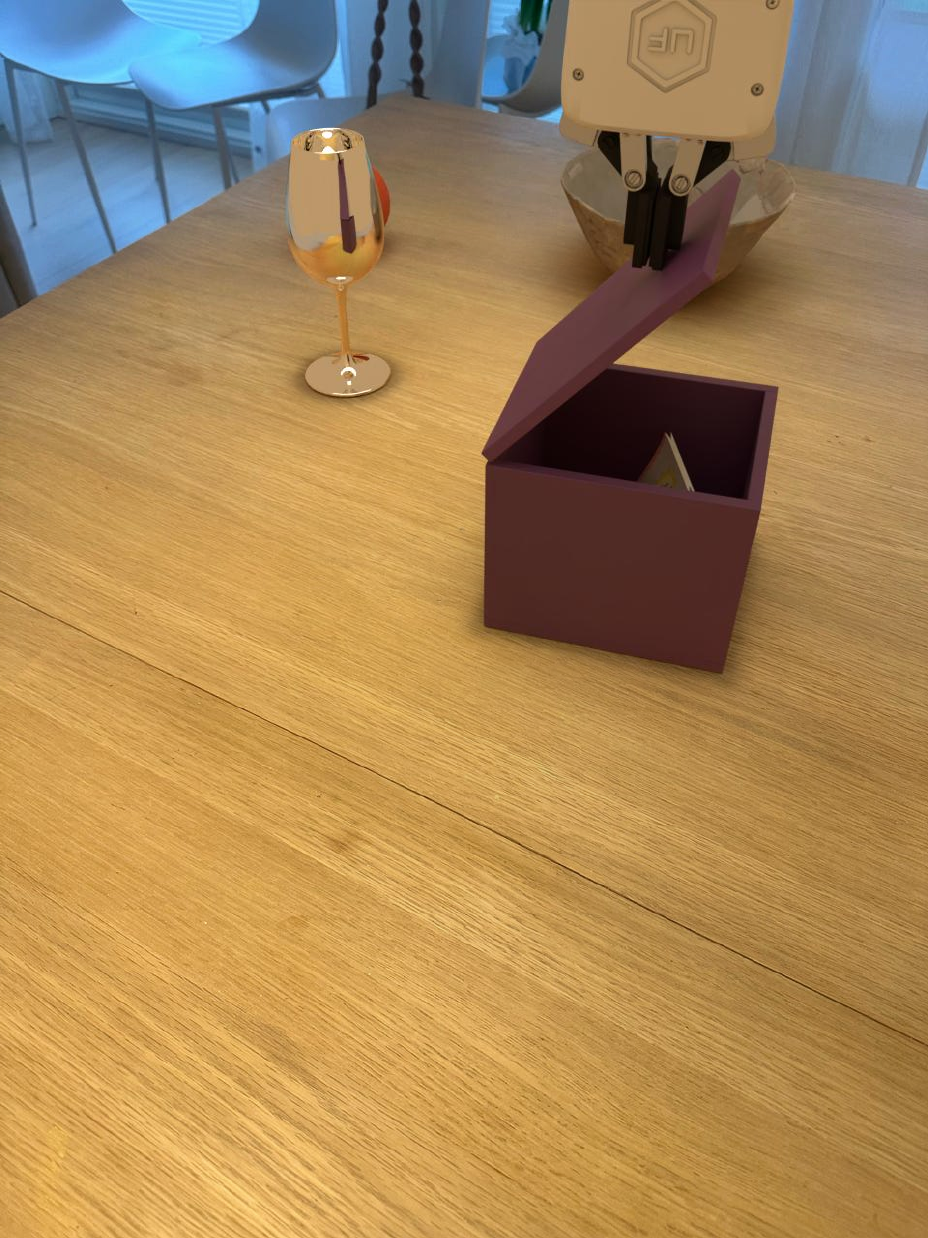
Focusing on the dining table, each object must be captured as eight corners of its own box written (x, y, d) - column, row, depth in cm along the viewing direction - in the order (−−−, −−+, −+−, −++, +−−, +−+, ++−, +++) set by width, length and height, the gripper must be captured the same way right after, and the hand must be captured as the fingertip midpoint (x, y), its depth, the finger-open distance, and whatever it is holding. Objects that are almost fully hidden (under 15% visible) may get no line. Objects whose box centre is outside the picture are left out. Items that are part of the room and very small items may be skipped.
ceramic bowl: (542, 322, 100) (547, 218, 93) (568, 225, 117) (574, 130, 110) (780, 341, 97) (804, 235, 90) (772, 238, 114) (791, 142, 107)
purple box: (743, 543, 76) (779, 385, 67) (722, 674, 66) (760, 510, 57) (532, 506, 79) (540, 352, 70) (483, 626, 69) (485, 464, 61)
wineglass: (333, 346, 97) (311, 116, 83) (408, 365, 94) (397, 131, 81) (286, 386, 92) (255, 148, 78) (364, 406, 89) (345, 164, 76)
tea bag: (676, 552, 74) (697, 430, 67) (699, 618, 69) (724, 493, 62) (624, 555, 73) (640, 432, 67) (643, 621, 68) (662, 496, 62)
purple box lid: (741, 178, 59) (732, 167, 59) (713, 282, 50) (702, 269, 50) (544, 350, 70) (536, 342, 70) (490, 463, 60) (480, 453, 60)
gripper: (508, -156, 43) (499, 271, 56) (887, -141, 40) (787, 307, 53) (548, -178, 49) (532, 216, 61) (886, -167, 45) (796, 246, 58)
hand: (650, 258), depth 57 cm, fingers closed
